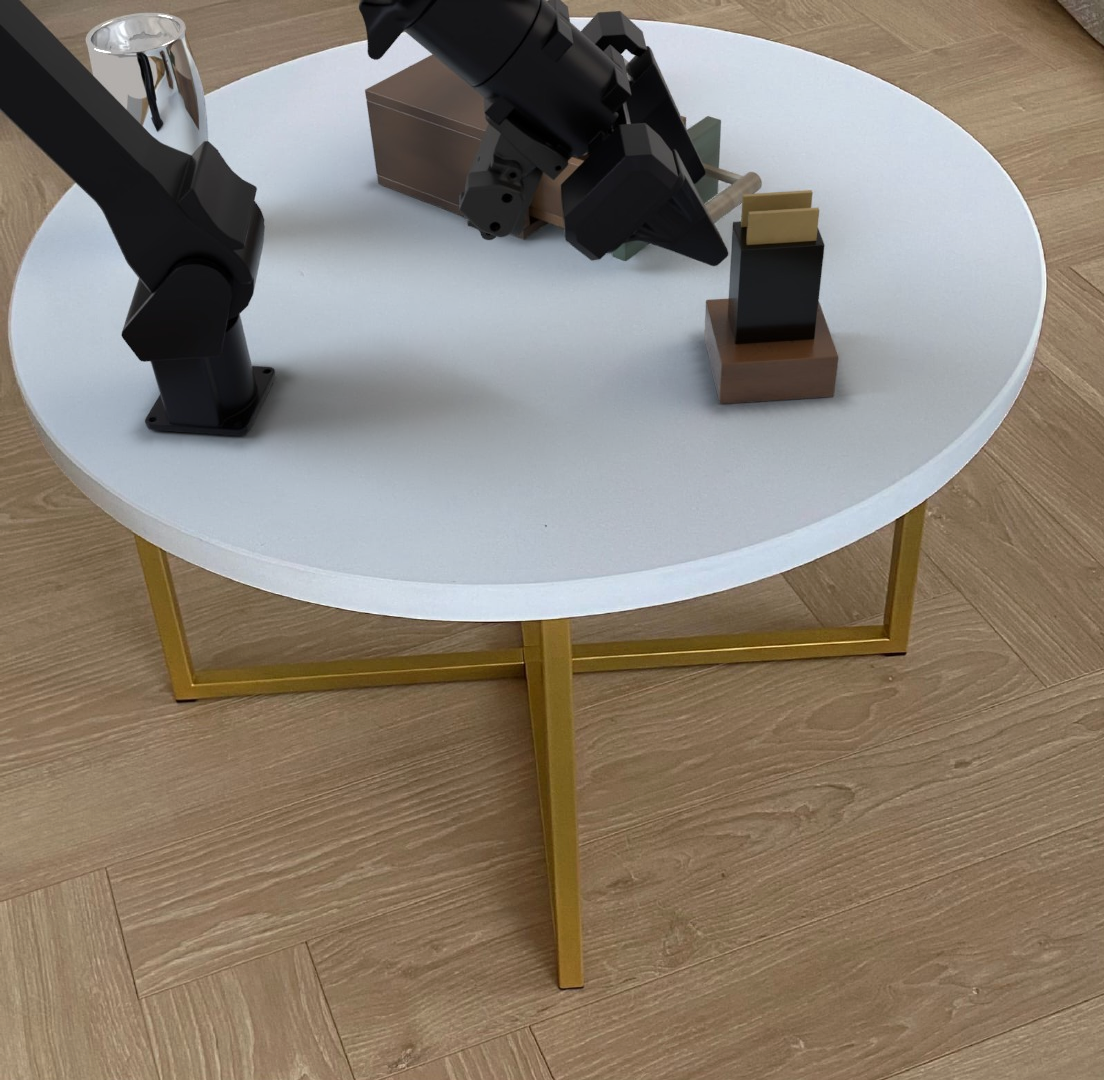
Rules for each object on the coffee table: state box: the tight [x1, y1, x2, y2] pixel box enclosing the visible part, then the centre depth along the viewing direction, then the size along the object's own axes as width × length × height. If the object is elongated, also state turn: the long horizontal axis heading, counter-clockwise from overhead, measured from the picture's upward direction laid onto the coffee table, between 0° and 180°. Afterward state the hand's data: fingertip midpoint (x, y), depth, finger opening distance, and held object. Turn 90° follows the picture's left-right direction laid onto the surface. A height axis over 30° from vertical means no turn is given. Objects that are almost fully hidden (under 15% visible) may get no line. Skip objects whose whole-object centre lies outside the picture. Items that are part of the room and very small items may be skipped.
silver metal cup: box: [85, 12, 209, 155], centre depth 95 cm, size 7×7×15 cm
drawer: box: [529, 115, 763, 262], centre depth 96 cm, size 18×11×6 cm, turn 51°
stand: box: [703, 297, 839, 405], centre depth 84 cm, size 7×7×3 cm
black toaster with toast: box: [728, 189, 825, 344], centre depth 80 cm, size 3×5×8 cm
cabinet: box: [364, 54, 549, 240], centre depth 102 cm, size 15×13×8 cm
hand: (710, 217), depth 78 cm, fingers open, 9 cm apart
